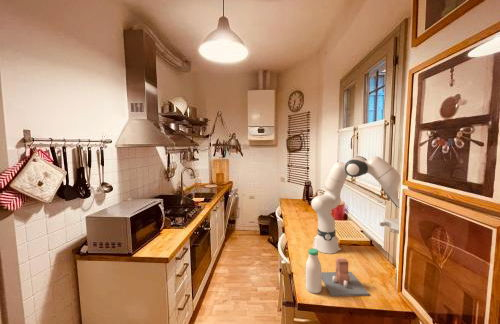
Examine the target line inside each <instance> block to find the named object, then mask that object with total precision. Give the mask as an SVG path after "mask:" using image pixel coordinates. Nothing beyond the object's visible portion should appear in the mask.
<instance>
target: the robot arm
mask: <svg viewBox="0 0 500 324" xmlns="http://www.w3.org/2000/svg"><path fill="white" fill-rule="evenodd" d="M332 165H333V166H331V169H330V171H329V172H328V174H327V177H326V179H325V181H324V185H323V186H324V189H325V191H324V193H323V194H321V195H317V196H315V197H314V198H313V199H311V203H310V205H311V209H312V210H314V211H315V213H316V217H317V231H316V232H317V234H316V236H313V243H312V249H316V250H318V252H319V253H323V254H327V255H328V254H329V255H330V254H332V255H333V254H336V253H338V252H339V251H341V250H342V249H341V247H340V246H339V240H338V237H337V236H336V233H337V232H336V228H335V227H336V220H335V217H333V216H332V212H331V211H332V210H334V209H335V208H338V206H339V205H340V204H341V203H342V200H341V193H342V192H341V191H342V188H343V187H344V184H345V182H346V180H347V178H348V176H349V177H352V178H358V177H361V176H363V175H366V174H369V175H371V176H372V177H373V178H374V179H375V180H376V181H377V182H378V184H379V185H380V186H381V188H382V191H383V192H384V193H385V195H386V196H387V197H388V198H389V200H390V201H391V202H392V203H393V205H394V206H395V207H396V208H397V207H398V208H399V199H398V192H399V190H398V186H399V185H400V182H401V175H400V173H399V172H398V170H397V169H395V168H394V167H393V166H392V165H391V164H390V163H389V162H387V161H386V160H384V159H383V158H381V157H380V156H372V157H370V158H369V159H367V158H366V157H364V156H359V155H357V156H354V157H352V158H350V159H349V160H348V161H346V162H343V161H336V162H334V163H333V164H332ZM397 190H398V191H397ZM398 208H397V209H398ZM399 220H400V218H394V217H384V218H383V221H380V222H379V226H380V227H385V226H386V227H388V228H390V232H391V233H392V234H396V235H397V234H398V235H400V234H399Z"/></svg>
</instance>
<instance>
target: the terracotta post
mask: <svg viewBox="0 0 500 324" xmlns="http://www.w3.org/2000/svg"><path fill="white" fill-rule="evenodd" d="M335 272H336V280H337V282H338V283H339V285H344V280H345V281H347V285H348V272H349V261H348V260H347V259H346V257H342V256H341V257H335Z"/></svg>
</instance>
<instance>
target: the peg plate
mask: <svg viewBox="0 0 500 324" xmlns="http://www.w3.org/2000/svg"><path fill="white" fill-rule="evenodd" d="M321 276H322V282H323V284H324V286H325V287H326V288H325V289H326V290H327V291H328V293H329V295H330V297H363V296H364V297H365V296H367V297H368V296H370V293H369V291H368V290H367V289H366V288H365V286H363V284H362V283H361V282H360V281H359V279H358V278H357V277H356V276H355V275H354V273H353V272H352V271H348V285H347V281H345V280H344V285H339V283H338V282H337V280H336V271H330V272H329V271H327V272H326V271H324V272H322V271H321Z"/></svg>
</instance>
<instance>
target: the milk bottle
mask: <svg viewBox="0 0 500 324" xmlns="http://www.w3.org/2000/svg"><path fill="white" fill-rule="evenodd" d="M307 252H308V258H307V260H306V261H305V289H306V290H307V291H308V292H309V293H311V294H319V293H321V292H322V286H323V285H322V282H323V280H322V276H321V272H322V265H321V262H320V260H319V257H318V256H319V251H318V250H316V249H313V248H309V249H308V251H307Z"/></svg>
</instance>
